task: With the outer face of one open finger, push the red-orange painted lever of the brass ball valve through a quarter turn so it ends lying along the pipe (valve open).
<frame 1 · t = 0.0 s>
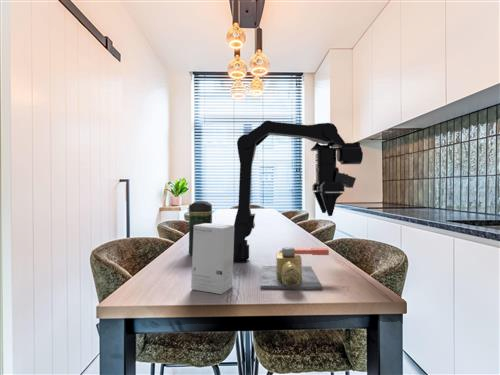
hand: (326, 214, 89), 15 cm above the table, tool pointing down, fingers open, 9 cm apart
lever: (304, 251, 72), point 7 cm above the table, hinge at 0.0°
valve body: (288, 278, 73), on the table
coffee jar: (200, 253, 100), on the table
skincare box: (213, 289, 66), on the table
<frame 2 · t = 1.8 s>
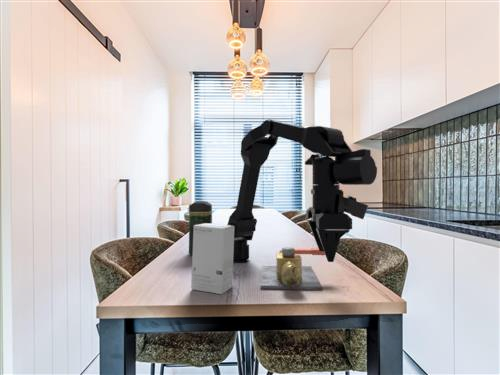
hand: (325, 256, 62), 8 cm above the table, tool pointing down, fingers open, 9 cm apart
nothing on the table moved.
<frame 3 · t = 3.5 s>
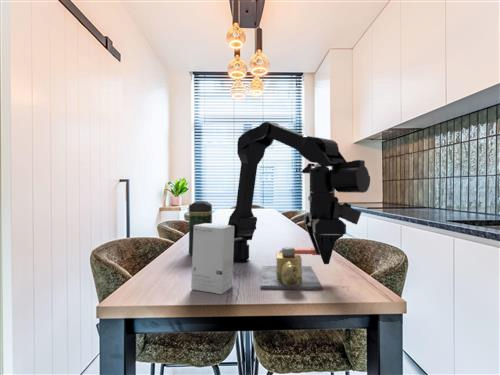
hand: (322, 258, 66), 7 cm above the table, tool pointing down, fingers open, 8 cm apart
lever: (304, 251, 72), point 7 cm above the table, hinge at 0.1°, touching gripper
everything else where it was.
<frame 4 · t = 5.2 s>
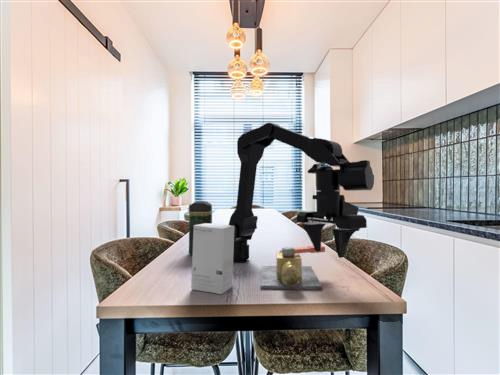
hand: (328, 254, 70), 7 cm above the table, tool pointing down, fingers open, 8 cm apart
lever: (303, 250, 74), point 7 cm above the table, hinge at 20.3°, touching gripper
everything else where it was.
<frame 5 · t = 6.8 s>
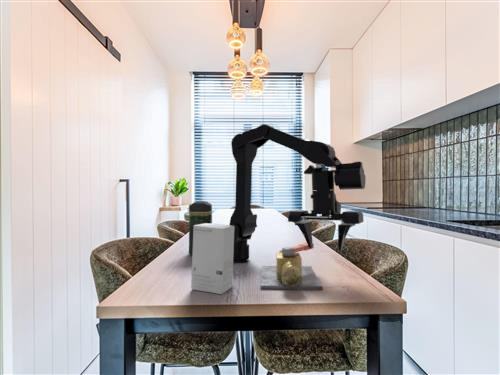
hand: (325, 249, 75), 7 cm above the table, tool pointing down, fingers open, 8 cm apart
lever: (298, 249, 76), point 7 cm above the table, hinge at 48.0°, touching gripper
everything else where it was.
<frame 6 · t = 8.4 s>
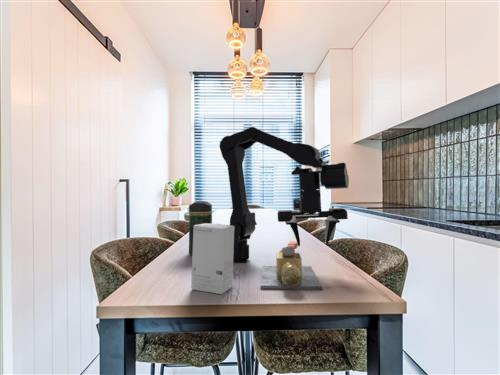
hand: (312, 245, 79), 7 cm above the table, tool pointing down, fingers open, 7 cm apart
lever: (290, 248, 77), point 7 cm above the table, hinge at 76.3°, touching gripper
everything else where it was.
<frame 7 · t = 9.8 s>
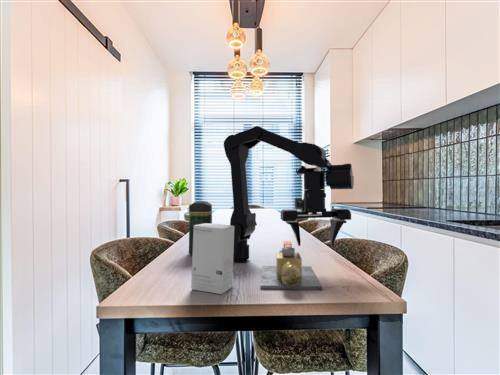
hand: (315, 245, 79), 7 cm above the table, tool pointing down, fingers open, 9 cm apart
lever: (287, 248, 77), point 7 cm above the table, hinge at 87.5°
everything else where it was.
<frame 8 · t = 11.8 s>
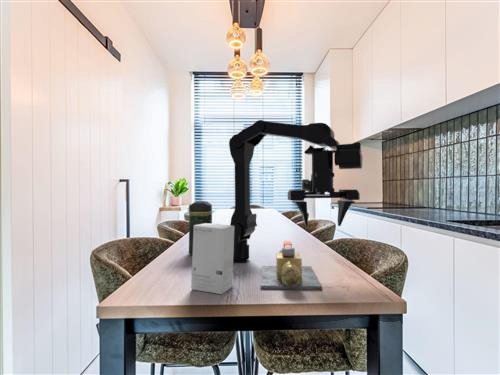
hand: (322, 226, 79), 12 cm above the table, tool pointing down, fingers open, 9 cm apart
nothing on the table moved.
at the end: lever at +88° (first picture: +0°) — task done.
